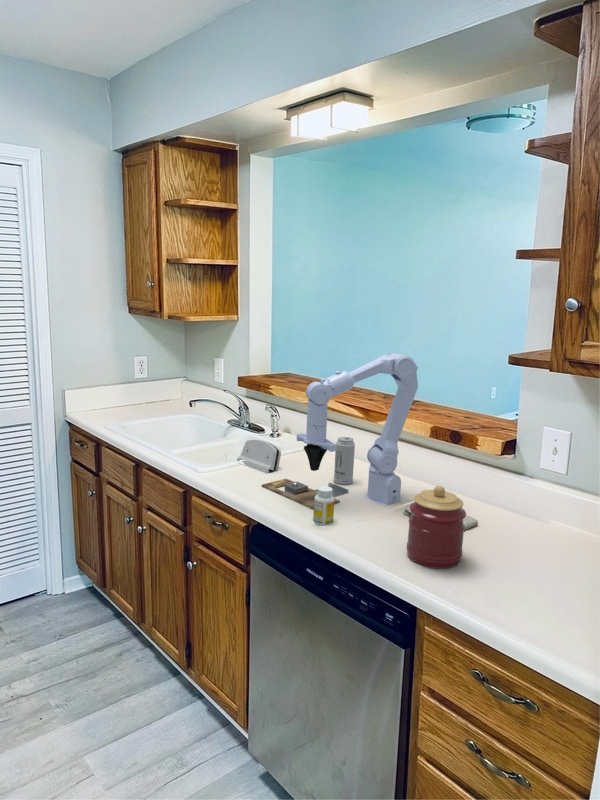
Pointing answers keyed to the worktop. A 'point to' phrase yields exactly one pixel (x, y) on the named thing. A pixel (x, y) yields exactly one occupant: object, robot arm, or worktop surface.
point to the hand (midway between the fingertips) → (314, 469)
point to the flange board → (302, 498)
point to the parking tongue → (337, 490)
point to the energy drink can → (344, 461)
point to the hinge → (260, 455)
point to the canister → (436, 528)
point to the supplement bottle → (323, 506)
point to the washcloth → (467, 521)
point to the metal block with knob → (296, 488)
